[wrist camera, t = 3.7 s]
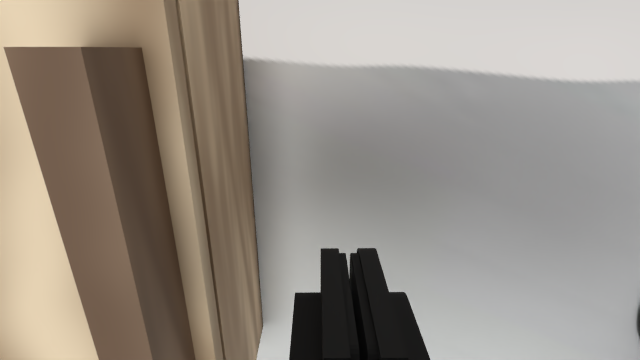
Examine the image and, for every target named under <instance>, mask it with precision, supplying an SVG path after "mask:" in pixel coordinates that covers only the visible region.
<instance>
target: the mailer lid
mask: <svg viewBox="0 0 640 360" xmlns="http://www.w3.org/2000/svg"><path fill="white" fill-rule="evenodd" d="M0 360H223V353H222V346H221V338H220V331H219V323H218V316H217V308H216V301H215V293H214V286H213V279H212V271H211V264H210V256H209V249H208V241H207V234H206V226H205V219H204V211H203V204H202V196H201V189H200V182H199V174H198V167H197V159H196V152H195V144H194V137H193V129H192V122H191V114H190V107H189V99H188V92H187V85H186V77H185V70H184V62H183V55H182V47H181V40H180V32H179V25H178V17H177V10H176V2H175V0H0Z"/></svg>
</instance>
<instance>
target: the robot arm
mask: <svg viewBox="0 0 640 360" xmlns="http://www.w3.org/2000/svg"><path fill="white" fill-rule="evenodd" d="M289 360H430V358H429V355H428V352H427V349H426V347H425V344H424V341H423V339H422V336H421V333H420V330H419V328H418V325H417V322H416V319H415V317H414V314H413V311H412V309H411V306H410V303H409V300H408V298H407V295H406V294H405V293H404V292H389V291H388V287H387V284H386V281H385V277H384V274H383V271H382V267H381V264H380V261H379V257H378V254H377V251H376V249H375V248H358V249H357V253H351V255H350V278H349V274H348V267H347V260H346V254H345V253H339V249H321V293H295V300H294V312H293V323H292V335H291V346H290V358H289Z"/></svg>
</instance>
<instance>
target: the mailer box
mask: <svg viewBox="0 0 640 360" xmlns="http://www.w3.org/2000/svg"><path fill="white" fill-rule="evenodd" d="M175 2H176V10H177V17H178V25H179V32H180V40H181V47H182V55H183V62H184V70H185V77H186V85H187V92H188V99H189V107H190V114H191V122H192V129H193V137H194V144H195V152H196V159H197V167H198V174H199V182H200V189H201V196H202V204H203V211H204V219H205V226H206V234H207V241H208V249H209V256H210V264H211V271H212V279H213V286H214V293H215V301H216V308H217V316H218V323H219V331H220V338H221V346H222V353H223V360H256V358H257V353H258V348H259V343H260V338H261V333H262V328H263V318H262V305H261V292H260V279H259V266H258V253H257V240H256V226H255V213H254V200H253V187H252V174H251V161H250V147H249V134H248V121H247V108H246V95H245V82H244V69H243V55H242V44H241V30H240V16H239V3H238V0H175Z"/></svg>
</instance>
